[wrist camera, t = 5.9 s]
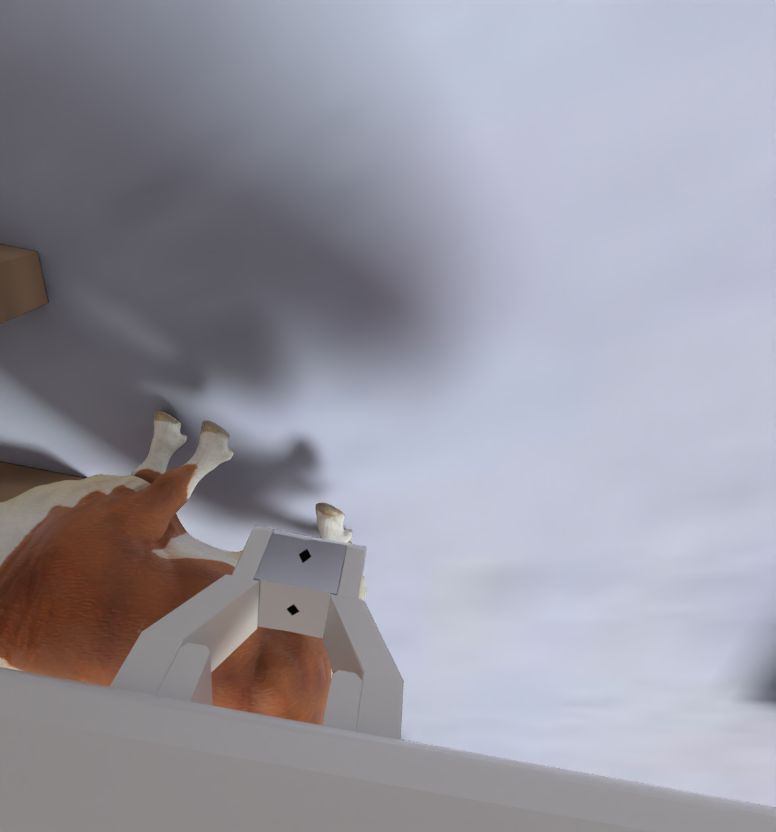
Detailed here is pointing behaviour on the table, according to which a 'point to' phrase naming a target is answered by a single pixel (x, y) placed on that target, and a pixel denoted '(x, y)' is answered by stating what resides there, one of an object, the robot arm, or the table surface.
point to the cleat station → (3, 300)
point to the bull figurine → (140, 580)
